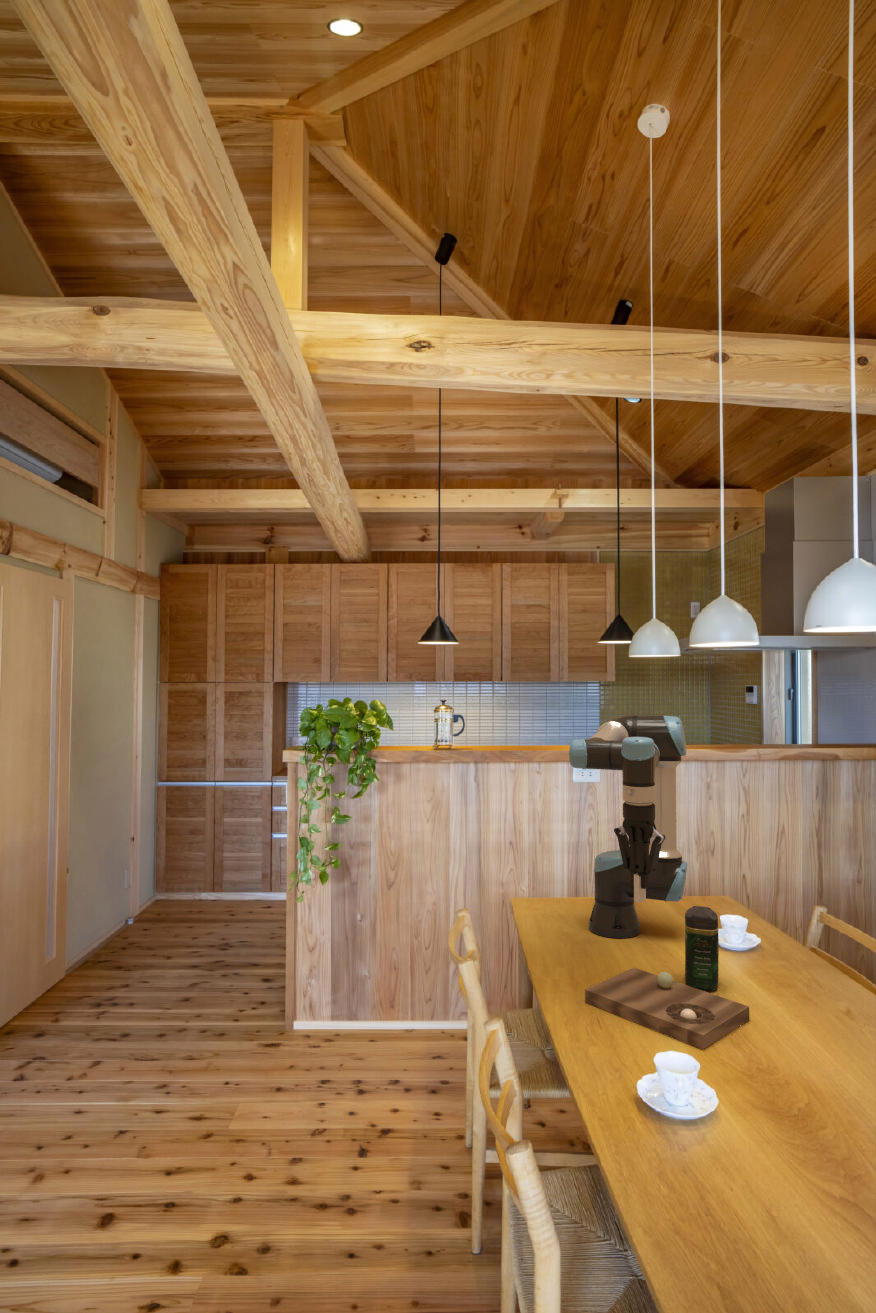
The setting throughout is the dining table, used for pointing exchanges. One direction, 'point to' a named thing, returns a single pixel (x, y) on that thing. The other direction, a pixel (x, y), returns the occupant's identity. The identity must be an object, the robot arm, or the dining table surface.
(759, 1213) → the dining table surface
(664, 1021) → the board
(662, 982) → the sage ball
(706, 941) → the coffee jar
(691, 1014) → the cream ball
